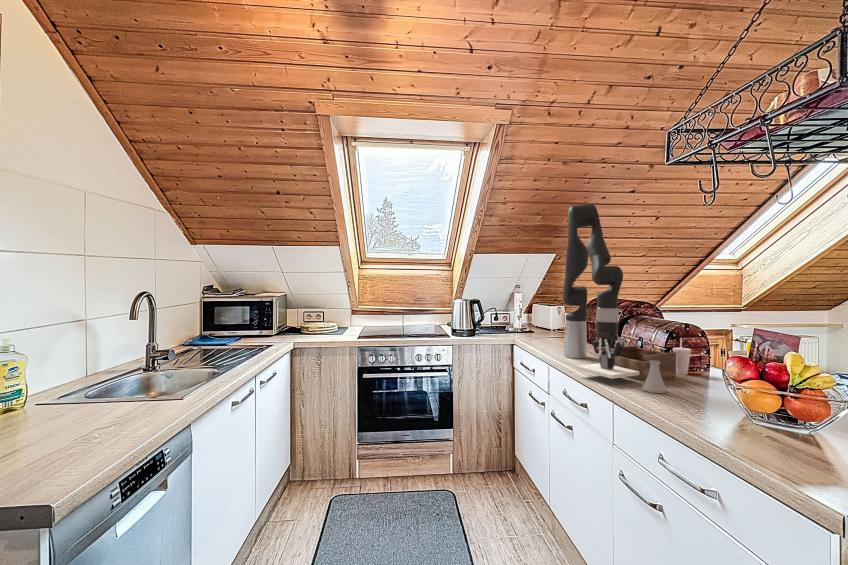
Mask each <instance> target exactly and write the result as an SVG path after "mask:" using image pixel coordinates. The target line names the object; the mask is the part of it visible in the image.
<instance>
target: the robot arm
mask: <svg viewBox="0 0 848 565" xmlns="http://www.w3.org/2000/svg"><path fill="white" fill-rule="evenodd" d="M598 211H599V210H598V209H597V207H596V205H595V204H593V203H586V204H585V203H583V204H576V205H572V206H570V207H569V208H568V212H567V243H566V244H567V245H566V246H567V247H566V254H565V268H564V269H565V271H564V272H565V273H564V282H563V289H562V297H561V298H562V303H563V305H565V306H570V307H578V308H577V309H575V310H574V311H572V312H568V313H567V314H566V315H565V335H564V336H563V338H564V344H563V347H564V349H563V354H564V356H565V357H567V358H571V359H587V349H588V348H587V342H588V341H587V338H588V337H587V331H588V330H587V329H588V328H587V317H588V316H587V315H588V314H587V310H588V306H587V305H588V289H587V287H586V286H583V285H582V286H580V285H579V286H577V285H576V286H575V285H574V284H575V281H576V280H577V279H579V277H580V276H581V275H582V274H583V273H584V272H585V270H586V269H587V267H588V264H589V260H590V263H591V280H592V282H594V284H595V285H598V286H608V288H607V289H606V290H603V291H600V292H598V293H597V294H596V313H595V316H596V317H595V332H596V333H597V334H596V337H591V339H590V341H591V344H592V347H593V350H594V353H595V354H597V355H598V356H599V363H600V366H601V355H604V354H606V351H607V352H608V357H609V358H608V368H613V367H614V359H615V357H619V356H620V353H621V351H622V348H623V346H624V342H620V341H619V340H618V338H617V337H618V334H619V310H618V304H619V303H618V298H619V293H620V290H621V286H622V282H623V279H624V272H623V270H622V268H621V267H619V266H618V265H609V263H611V260H612V257H611V253H610V251H609V250H608V247H607V244H606V241H605V239H604V233H603V230H602V224H601V219H600V215H599V212H598ZM586 227H591V232H590V235H589V238H588V241H587V244H586V245H585V244H584V243H583V241H582V239H580V236H579V234H578V229H579V228H586ZM573 285H574V286H573ZM610 348H612V349H610ZM611 352H612V354H611Z"/></svg>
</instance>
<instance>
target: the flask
mask: <svg viewBox="0 0 848 565" xmlns="http://www.w3.org/2000/svg"><path fill="white" fill-rule="evenodd" d="M649 362H650V369H649V373H648V376H647V378H646V381H645V382H643V385H642V387H641V388H642V390H643V391H645V392H647V393H652V394H666V393H668V391H667V388H666V386H665V382H664V380H662V377H661V374H660V369H659V364H660V361H654V360H651V361H649Z"/></svg>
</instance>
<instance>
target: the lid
mask: <svg viewBox="0 0 848 565" xmlns="http://www.w3.org/2000/svg"><path fill="white" fill-rule="evenodd" d="M608 358H609V357H608V354H604V355H601V366H600V362H599V363H591V364H581V365H576V366H575V367H576V368H575V369H576V370H578V371H582V372H586V373H590V374H592V375H597V376H601V377H604V378H608V379H612V380H613V379H620V378H626V377H628V376H636V375H640V372H639V371H635V370H631V369H626V368H622V367H618V366H614V367H613V368H608Z"/></svg>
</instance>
